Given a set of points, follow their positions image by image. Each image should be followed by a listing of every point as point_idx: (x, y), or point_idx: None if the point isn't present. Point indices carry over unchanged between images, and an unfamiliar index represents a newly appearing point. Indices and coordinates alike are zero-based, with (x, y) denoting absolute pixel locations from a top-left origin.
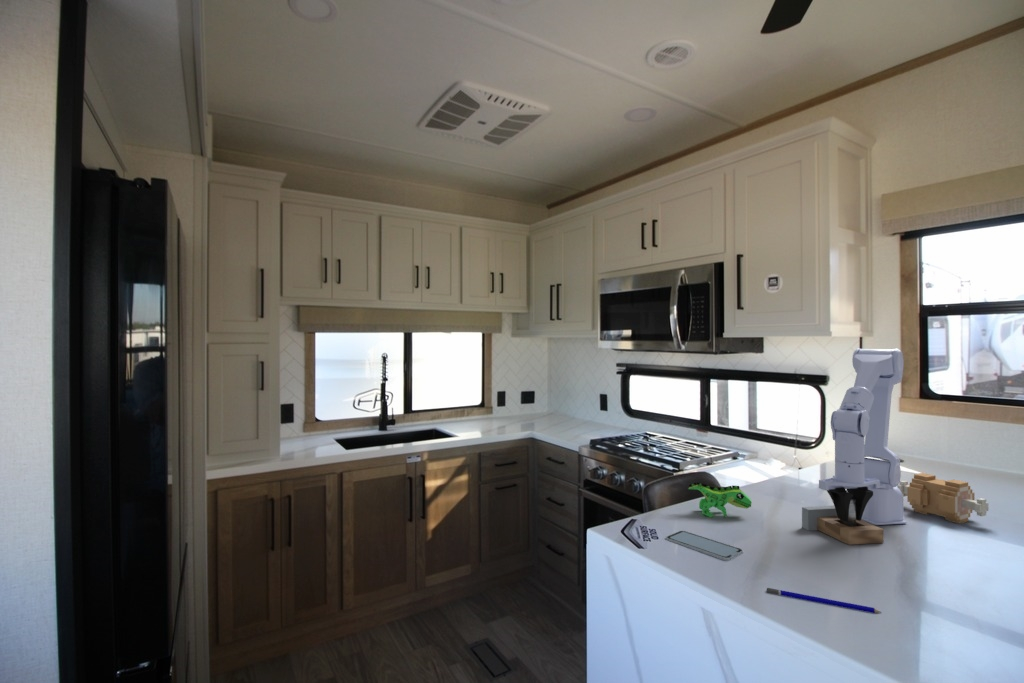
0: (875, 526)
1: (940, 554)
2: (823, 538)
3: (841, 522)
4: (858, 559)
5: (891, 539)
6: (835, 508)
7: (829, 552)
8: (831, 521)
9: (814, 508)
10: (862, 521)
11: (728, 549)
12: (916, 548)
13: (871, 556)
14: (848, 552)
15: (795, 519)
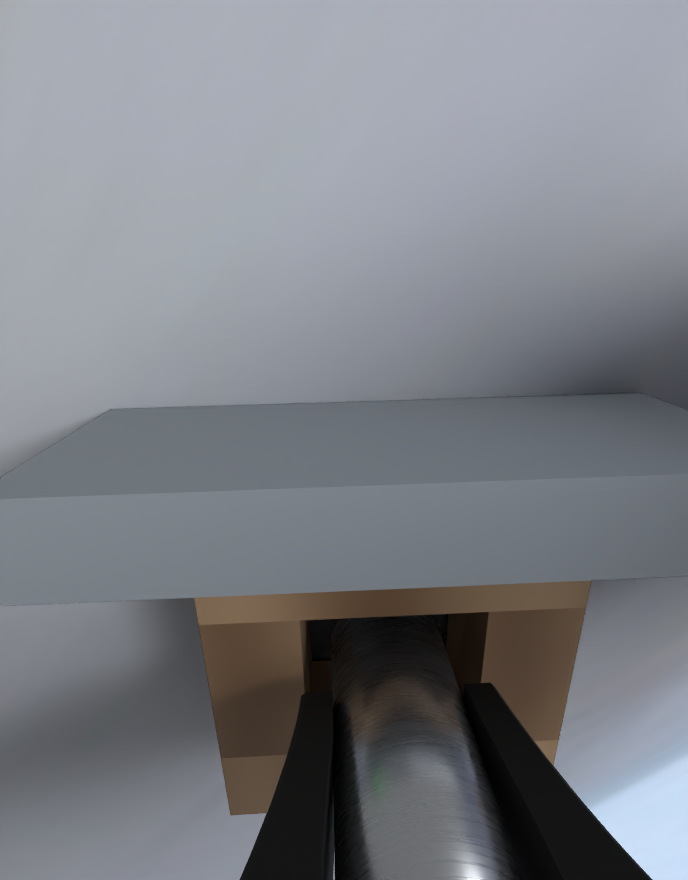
0: (544, 754)
1: (648, 816)
2: (153, 616)
3: (337, 663)
4: (160, 840)
5: (619, 659)
6: (276, 791)
7: (51, 778)
8: (250, 646)
9: (129, 568)
10: (552, 666)
11: None
12: (614, 761)
13: (260, 820)
14: (168, 782)
15: (185, 166)
